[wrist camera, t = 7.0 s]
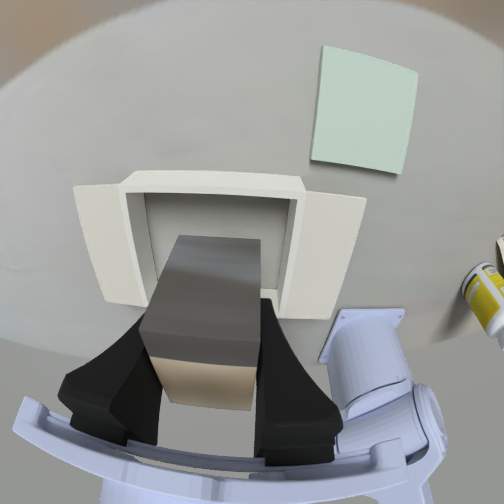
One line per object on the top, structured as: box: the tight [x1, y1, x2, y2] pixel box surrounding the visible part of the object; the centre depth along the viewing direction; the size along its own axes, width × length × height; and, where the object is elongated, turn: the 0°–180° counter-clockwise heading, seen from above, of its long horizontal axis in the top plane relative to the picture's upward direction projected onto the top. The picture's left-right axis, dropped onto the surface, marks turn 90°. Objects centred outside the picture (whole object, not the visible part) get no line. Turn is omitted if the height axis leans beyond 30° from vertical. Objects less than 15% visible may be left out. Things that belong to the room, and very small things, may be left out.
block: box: [139, 235, 261, 411], centre depth 12 cm, size 6×4×6 cm, turn 177°
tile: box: [310, 45, 418, 174], centre depth 15 cm, size 8×7×1 cm
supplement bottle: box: [462, 262, 504, 351], centre depth 19 cm, size 5×5×10 cm
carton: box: [73, 170, 367, 319], centre depth 20 cm, size 11×20×3 cm, turn 87°
